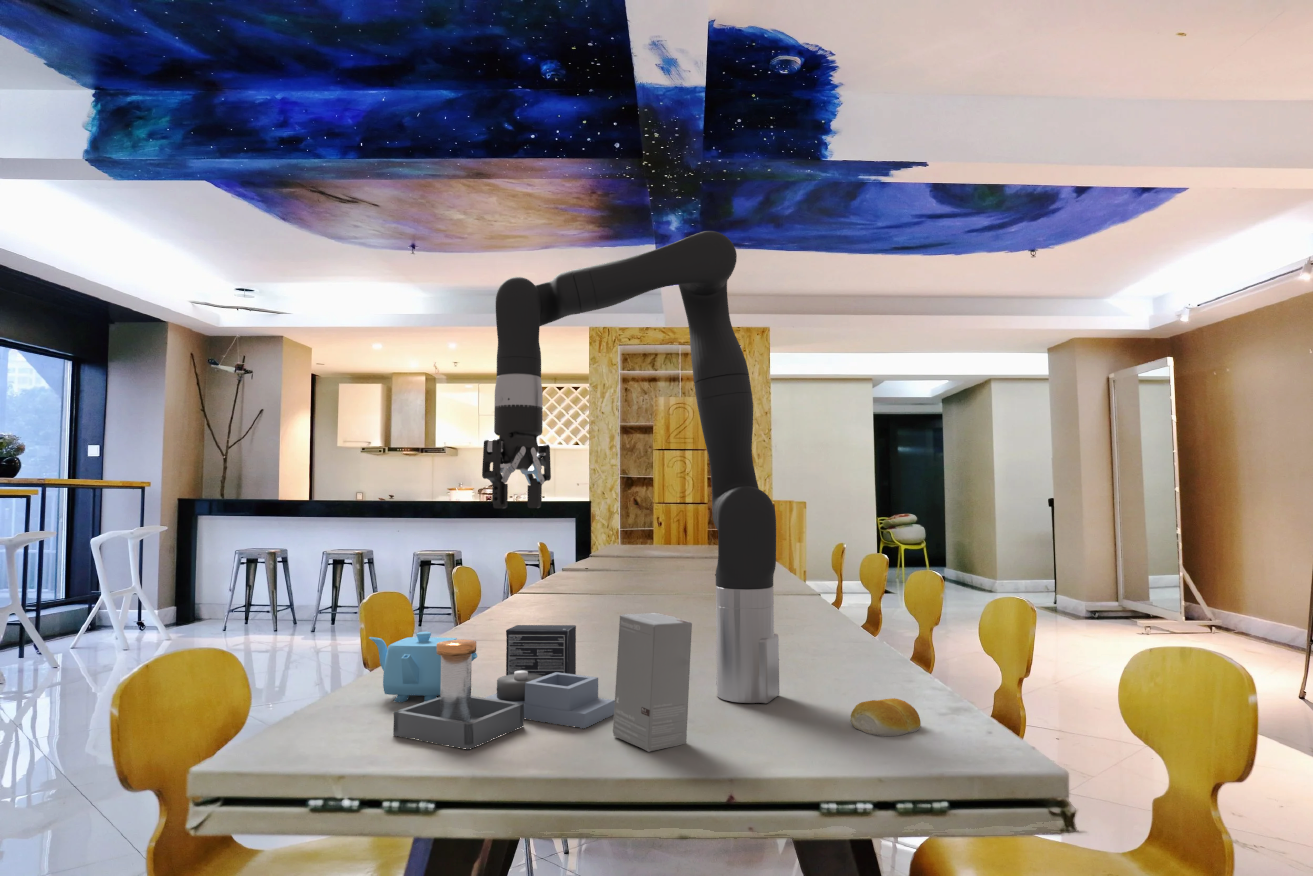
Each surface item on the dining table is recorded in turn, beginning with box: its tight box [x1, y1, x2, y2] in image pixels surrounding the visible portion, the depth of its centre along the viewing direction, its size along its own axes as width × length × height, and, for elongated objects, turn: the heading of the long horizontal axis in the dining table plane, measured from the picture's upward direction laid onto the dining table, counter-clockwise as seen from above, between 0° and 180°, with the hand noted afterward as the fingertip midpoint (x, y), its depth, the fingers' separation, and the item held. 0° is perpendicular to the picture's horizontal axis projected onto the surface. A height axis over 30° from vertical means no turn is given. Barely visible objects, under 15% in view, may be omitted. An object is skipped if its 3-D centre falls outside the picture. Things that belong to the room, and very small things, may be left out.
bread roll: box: [850, 697, 921, 737], centre depth 102 cm, size 8×9×4 cm
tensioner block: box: [483, 671, 615, 729], centre depth 109 cm, size 18×8×5 cm, turn 62°
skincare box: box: [612, 612, 693, 753], centre depth 97 cm, size 8×7×16 cm
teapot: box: [368, 631, 478, 703], centre depth 118 cm, size 18×14×10 cm
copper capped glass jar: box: [437, 639, 477, 722], centre depth 100 cm, size 5×5×11 cm
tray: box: [392, 695, 525, 749], centre depth 100 cm, size 13×11×3 cm
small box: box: [505, 624, 577, 676], centre depth 122 cm, size 11×6×10 cm, turn 84°
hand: (517, 508), depth 116 cm, fingers open, 8 cm apart
